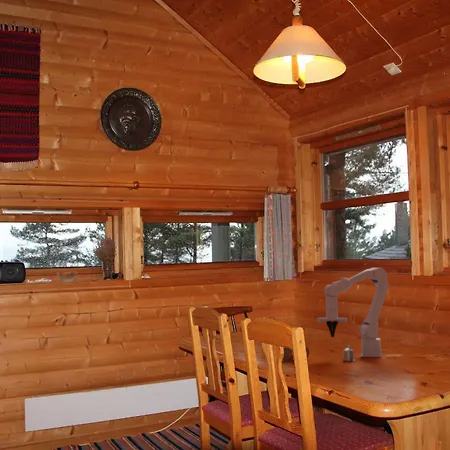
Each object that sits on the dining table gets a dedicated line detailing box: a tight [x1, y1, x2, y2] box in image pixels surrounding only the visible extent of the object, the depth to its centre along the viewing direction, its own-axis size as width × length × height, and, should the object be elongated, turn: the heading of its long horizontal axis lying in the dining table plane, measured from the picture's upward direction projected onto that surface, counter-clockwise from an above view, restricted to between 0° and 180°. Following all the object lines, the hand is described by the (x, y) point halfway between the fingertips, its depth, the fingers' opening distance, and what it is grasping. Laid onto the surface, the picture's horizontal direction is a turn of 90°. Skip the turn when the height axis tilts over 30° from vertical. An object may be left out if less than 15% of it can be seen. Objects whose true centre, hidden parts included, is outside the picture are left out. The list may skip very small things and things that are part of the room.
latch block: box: [347, 348, 356, 363], centre depth 297 cm, size 3×5×5 cm, turn 165°
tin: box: [282, 345, 310, 361], centre depth 302 cm, size 15×3×8 cm, turn 62°
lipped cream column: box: [343, 347, 349, 362], centre depth 301 cm, size 10×2×5 cm, turn 163°
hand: (332, 336), depth 305 cm, fingers closed
